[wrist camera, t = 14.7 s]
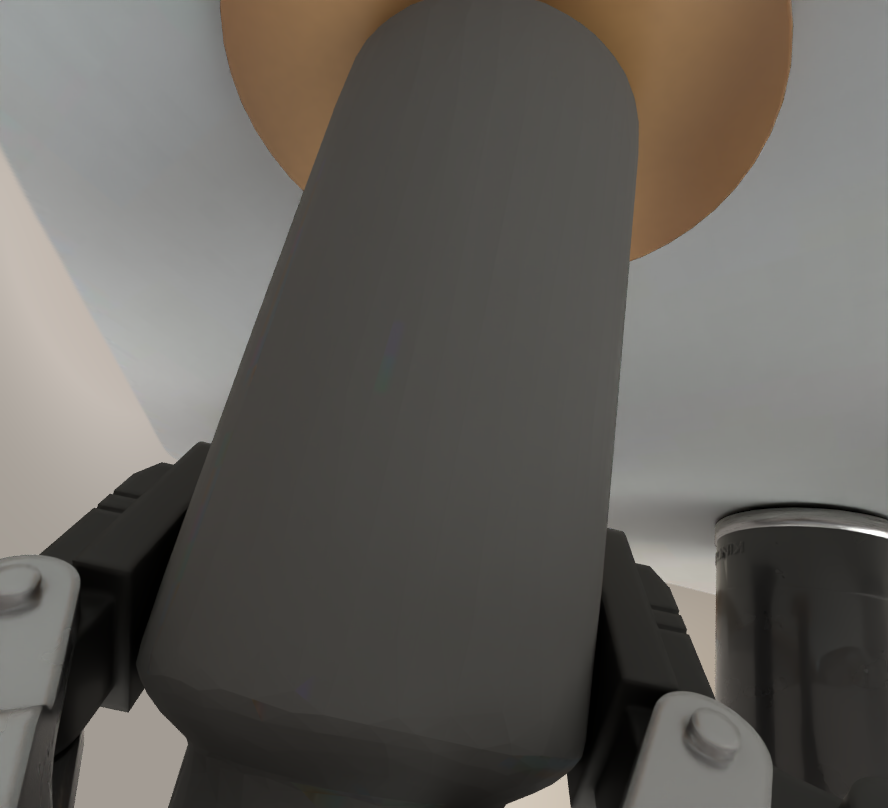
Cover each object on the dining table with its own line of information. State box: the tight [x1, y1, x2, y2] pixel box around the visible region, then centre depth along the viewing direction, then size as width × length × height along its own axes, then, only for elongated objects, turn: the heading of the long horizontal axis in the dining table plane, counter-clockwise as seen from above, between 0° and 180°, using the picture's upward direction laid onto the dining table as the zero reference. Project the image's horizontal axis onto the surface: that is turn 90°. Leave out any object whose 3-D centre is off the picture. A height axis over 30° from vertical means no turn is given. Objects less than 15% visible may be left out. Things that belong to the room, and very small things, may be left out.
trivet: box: [220, 0, 793, 262], centre depth 13 cm, size 11×11×1 cm
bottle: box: [136, 0, 639, 808], centre depth 9 cm, size 6×6×15 cm
